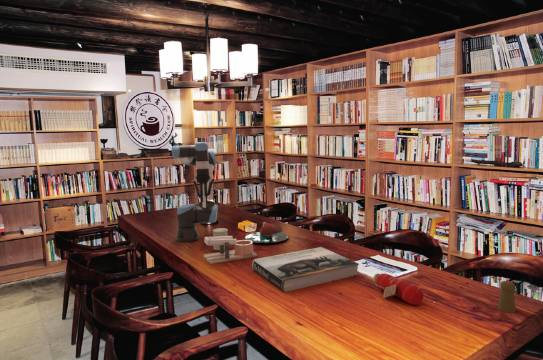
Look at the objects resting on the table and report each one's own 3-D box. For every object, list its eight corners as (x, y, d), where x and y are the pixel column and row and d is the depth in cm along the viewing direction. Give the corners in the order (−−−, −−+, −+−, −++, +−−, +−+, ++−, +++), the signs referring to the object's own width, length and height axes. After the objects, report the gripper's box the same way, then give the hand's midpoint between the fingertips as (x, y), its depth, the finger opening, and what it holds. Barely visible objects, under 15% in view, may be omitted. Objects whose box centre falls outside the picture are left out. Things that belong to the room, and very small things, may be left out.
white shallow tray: (201, 239, 231) (201, 234, 231) (228, 238, 238) (228, 233, 238) (207, 245, 217) (208, 240, 217) (236, 244, 224) (236, 239, 224)
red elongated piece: (404, 295, 154) (362, 275, 177) (406, 313, 156) (364, 291, 178) (426, 284, 159) (382, 266, 182) (428, 302, 161) (384, 282, 183)
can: (225, 250, 240) (225, 231, 238) (211, 250, 241) (210, 230, 240) (230, 246, 249) (229, 227, 247) (216, 245, 250) (215, 227, 249)
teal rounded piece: (264, 248, 243) (263, 230, 242) (237, 239, 264) (236, 223, 263) (296, 239, 261) (296, 222, 260) (268, 231, 282) (268, 216, 281)
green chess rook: (494, 306, 157) (495, 279, 156) (508, 305, 158) (510, 278, 156) (504, 313, 151) (505, 285, 150) (519, 312, 152) (521, 284, 150)
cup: (232, 251, 234) (232, 241, 233) (249, 249, 238) (248, 239, 237) (238, 256, 224) (237, 246, 223) (255, 253, 228) (255, 243, 228)
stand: (203, 256, 229) (202, 239, 228) (247, 249, 240) (247, 233, 239) (210, 264, 216) (209, 246, 215) (257, 256, 227) (256, 239, 226)
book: (282, 293, 176) (282, 280, 175) (252, 271, 205) (251, 259, 204) (359, 275, 195) (359, 263, 194) (321, 257, 224) (321, 247, 223)
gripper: (193, 169, 230) (195, 209, 233) (214, 168, 235) (216, 207, 238) (190, 168, 237) (192, 207, 240) (211, 167, 242) (213, 205, 245)
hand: (204, 207), depth 239 cm, fingers closed
